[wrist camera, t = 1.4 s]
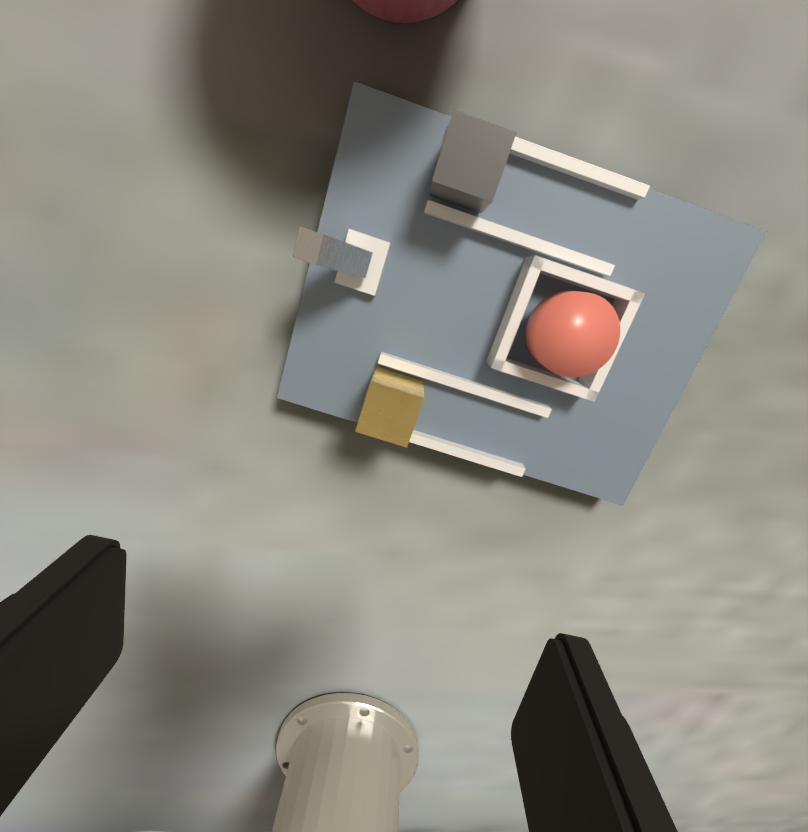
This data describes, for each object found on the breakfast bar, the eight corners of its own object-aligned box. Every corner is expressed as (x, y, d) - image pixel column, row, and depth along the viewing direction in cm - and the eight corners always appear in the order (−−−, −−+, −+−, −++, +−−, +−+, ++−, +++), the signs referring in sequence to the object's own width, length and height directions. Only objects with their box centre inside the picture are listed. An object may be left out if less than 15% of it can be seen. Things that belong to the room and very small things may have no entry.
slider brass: (408, 424, 29) (407, 447, 25) (363, 410, 29) (354, 431, 25) (423, 381, 28) (424, 397, 24) (376, 366, 28) (370, 380, 24)
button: (584, 379, 26) (598, 388, 24) (513, 356, 26) (521, 362, 24) (618, 305, 25) (635, 307, 23) (544, 279, 25) (554, 280, 23)
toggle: (365, 278, 25) (315, 265, 21) (345, 270, 25) (292, 256, 21) (372, 252, 25) (323, 234, 20) (352, 245, 25) (299, 226, 21)
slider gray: (480, 213, 25) (492, 202, 21) (429, 195, 25) (431, 180, 21) (500, 155, 24) (516, 132, 20) (447, 136, 24) (453, 109, 20)
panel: (607, 489, 33) (636, 521, 29) (287, 388, 31) (266, 406, 27) (736, 235, 28) (795, 227, 23) (359, 99, 26) (348, 64, 22)
